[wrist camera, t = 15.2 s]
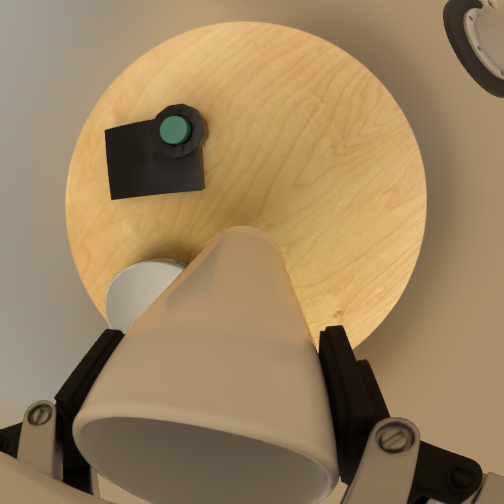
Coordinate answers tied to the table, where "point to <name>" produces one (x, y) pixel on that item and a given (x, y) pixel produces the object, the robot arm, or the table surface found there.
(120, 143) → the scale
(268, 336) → the white tall cup
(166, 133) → the tare button
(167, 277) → the chinaware
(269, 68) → the table surface
